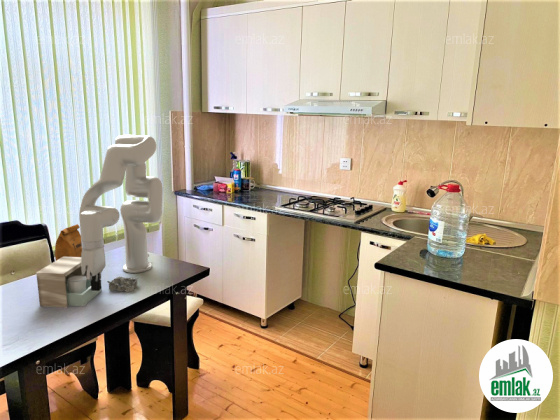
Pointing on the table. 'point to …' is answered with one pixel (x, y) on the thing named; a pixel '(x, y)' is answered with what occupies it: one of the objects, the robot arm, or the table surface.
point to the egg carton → (126, 282)
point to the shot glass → (76, 284)
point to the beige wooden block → (57, 281)
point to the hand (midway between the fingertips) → (96, 289)
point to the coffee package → (68, 243)
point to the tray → (81, 295)
